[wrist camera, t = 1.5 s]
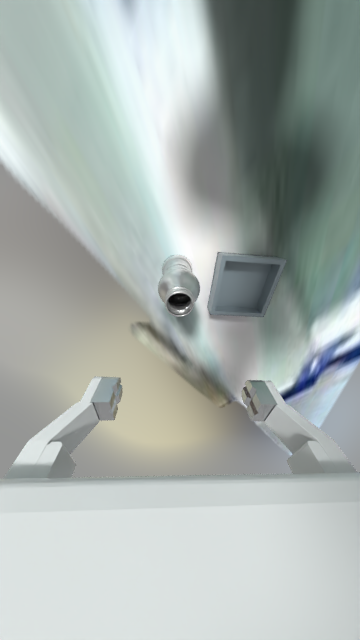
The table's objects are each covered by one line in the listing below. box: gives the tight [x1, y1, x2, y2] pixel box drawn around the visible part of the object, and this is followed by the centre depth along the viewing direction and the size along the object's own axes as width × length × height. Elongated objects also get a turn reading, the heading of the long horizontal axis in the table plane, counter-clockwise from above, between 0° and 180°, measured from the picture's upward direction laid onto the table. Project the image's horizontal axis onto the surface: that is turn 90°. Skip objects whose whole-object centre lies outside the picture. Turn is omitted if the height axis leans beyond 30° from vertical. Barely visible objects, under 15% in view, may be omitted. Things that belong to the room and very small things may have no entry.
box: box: [208, 252, 287, 317], centre depth 38 cm, size 14×14×4 cm
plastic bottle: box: [158, 255, 200, 317], centre depth 29 cm, size 6×7×20 cm
